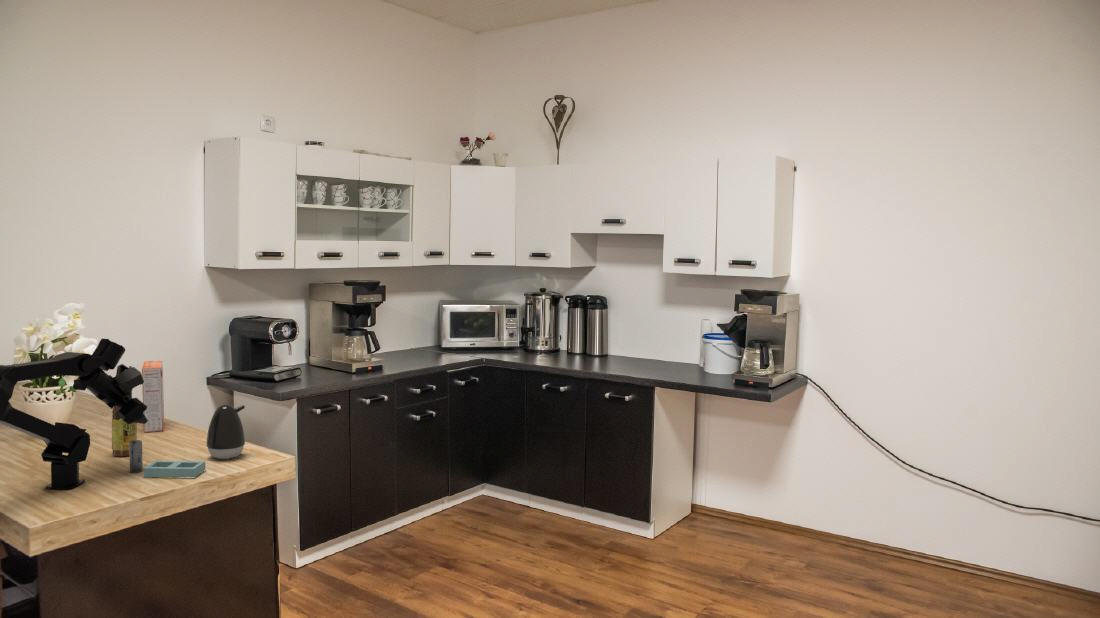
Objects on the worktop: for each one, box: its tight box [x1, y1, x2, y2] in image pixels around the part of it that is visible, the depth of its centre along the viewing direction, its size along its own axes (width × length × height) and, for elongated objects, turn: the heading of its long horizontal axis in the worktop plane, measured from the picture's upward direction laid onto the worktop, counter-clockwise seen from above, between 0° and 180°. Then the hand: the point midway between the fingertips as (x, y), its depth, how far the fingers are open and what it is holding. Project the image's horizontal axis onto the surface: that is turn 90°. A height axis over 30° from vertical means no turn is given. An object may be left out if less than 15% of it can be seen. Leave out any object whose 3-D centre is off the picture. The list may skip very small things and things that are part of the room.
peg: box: [129, 439, 144, 474], centre depth 209 cm, size 3×3×8 cm
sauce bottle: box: [111, 388, 138, 457], centre depth 224 cm, size 7×6×20 cm
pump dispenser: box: [205, 403, 246, 460], centre depth 224 cm, size 10×10×15 cm
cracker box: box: [141, 360, 165, 433], centre depth 256 cm, size 14×6×21 cm, turn 25°
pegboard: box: [142, 460, 206, 479], centre depth 208 cm, size 7×13×2 cm, turn 92°
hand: (137, 414), depth 217 cm, fingers open, 9 cm apart
